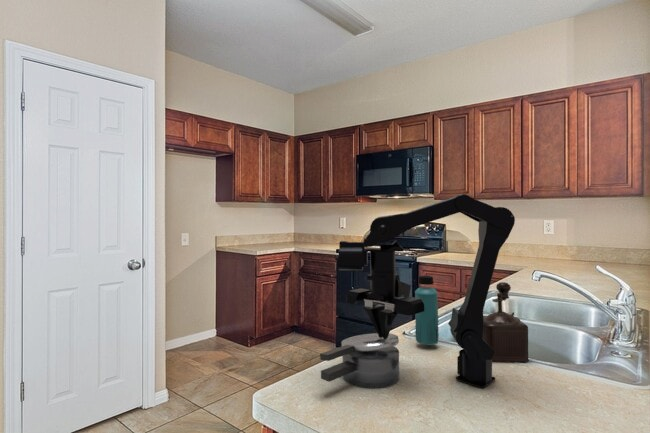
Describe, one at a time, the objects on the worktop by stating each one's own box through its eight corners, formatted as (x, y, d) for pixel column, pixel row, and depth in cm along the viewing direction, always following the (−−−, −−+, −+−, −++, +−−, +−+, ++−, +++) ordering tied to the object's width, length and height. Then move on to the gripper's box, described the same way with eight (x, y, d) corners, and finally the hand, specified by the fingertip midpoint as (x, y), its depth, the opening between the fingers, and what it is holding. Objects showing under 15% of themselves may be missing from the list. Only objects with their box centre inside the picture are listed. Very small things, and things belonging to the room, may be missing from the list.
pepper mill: (532, 363, 98) (532, 291, 98) (487, 362, 99) (486, 291, 99) (508, 343, 113) (508, 281, 113) (469, 342, 114) (469, 280, 114)
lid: (410, 339, 91) (409, 334, 91) (347, 363, 76) (346, 357, 76) (367, 335, 100) (366, 331, 100) (304, 357, 85) (303, 351, 86)
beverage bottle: (439, 351, 107) (439, 278, 107) (415, 349, 108) (414, 277, 108) (437, 343, 113) (437, 274, 113) (414, 342, 115) (414, 273, 114)
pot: (410, 376, 90) (410, 350, 90) (348, 407, 76) (347, 376, 76) (364, 360, 101) (364, 337, 100) (301, 385, 86) (301, 358, 86)
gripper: (437, 270, 89) (437, 339, 89) (373, 264, 103) (374, 323, 103) (409, 276, 82) (409, 351, 82) (344, 268, 95) (345, 332, 95)
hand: (383, 338), depth 90 cm, fingers closed
